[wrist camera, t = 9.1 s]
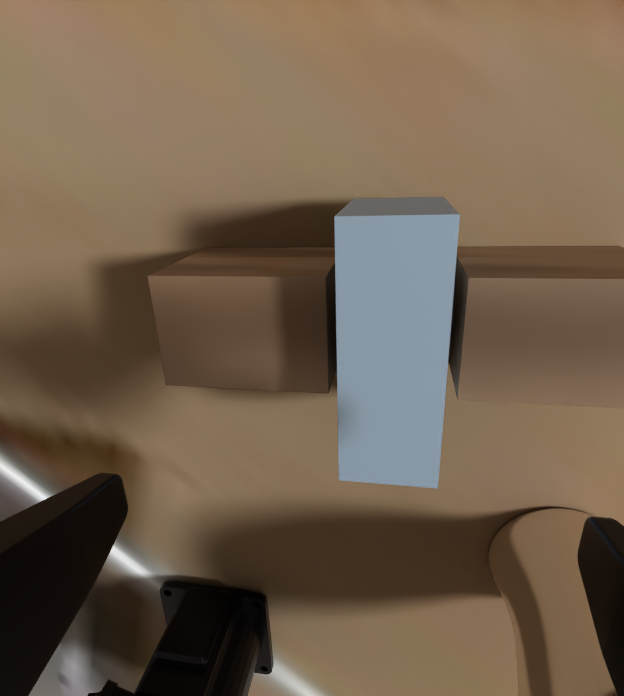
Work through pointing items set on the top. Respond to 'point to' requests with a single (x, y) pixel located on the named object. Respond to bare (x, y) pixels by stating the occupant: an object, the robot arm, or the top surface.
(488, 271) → the rail
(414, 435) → the light blue block
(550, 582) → the beer glass
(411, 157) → the top surface
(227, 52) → the top surface
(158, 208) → the top surface
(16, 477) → the top surface
